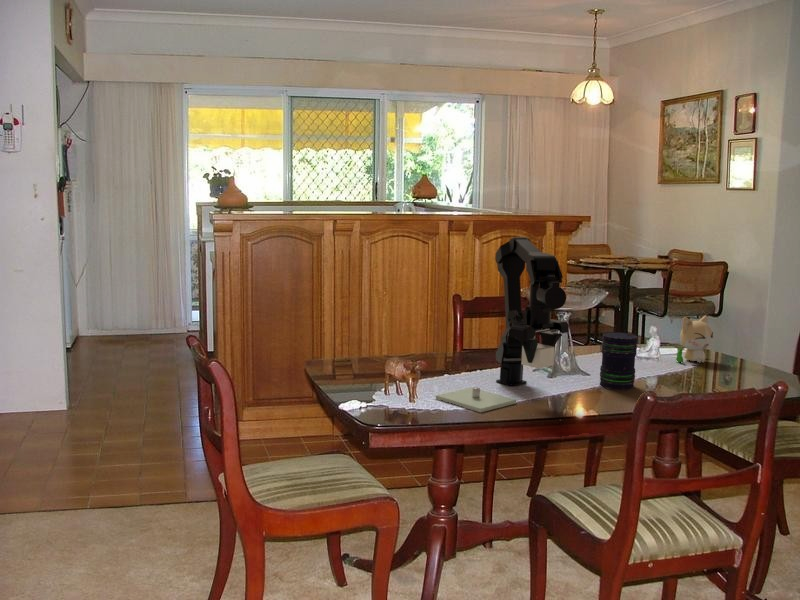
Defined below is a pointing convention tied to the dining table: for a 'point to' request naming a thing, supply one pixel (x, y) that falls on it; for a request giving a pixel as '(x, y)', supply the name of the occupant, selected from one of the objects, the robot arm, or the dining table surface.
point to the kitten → (695, 339)
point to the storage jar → (618, 360)
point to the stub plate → (476, 399)
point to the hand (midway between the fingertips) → (537, 361)
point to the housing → (540, 357)
